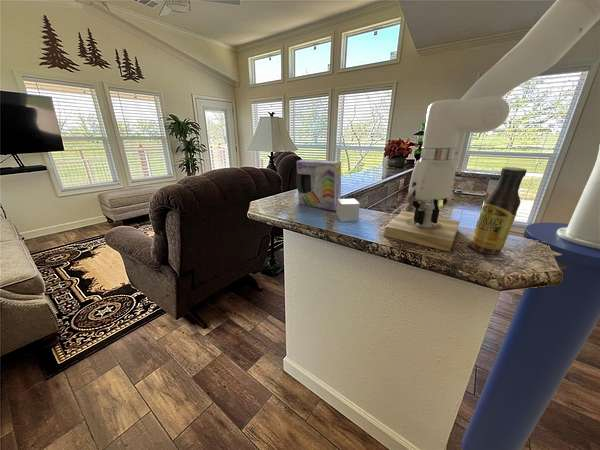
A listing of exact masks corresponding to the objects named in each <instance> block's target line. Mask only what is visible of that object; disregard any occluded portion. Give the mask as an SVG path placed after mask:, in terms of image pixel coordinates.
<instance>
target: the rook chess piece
mask: <svg viewBox="0 0 600 450" xmlns="http://www.w3.org/2000/svg"><path fill="white" fill-rule="evenodd" d="M434 208H435V207H434V204H433V203H432V202H429V203H428V202H427V201H426V202H425V206H424V209H423V211H425V214H424V220H423V224H422V225H420V224H418V223H416V225H418V226H422V227H432V223H431V215H432V213H433V212H432V210H433V209H434Z"/></svg>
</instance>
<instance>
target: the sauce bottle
mask: <svg viewBox="0 0 600 450" xmlns="http://www.w3.org/2000/svg"><path fill="white" fill-rule="evenodd" d="M527 171H528V170H527V169H526V168H523V167H514V166H504V167H502V168H501V171H500V173H499V174H500V176H499V179H498V182H497V183H496V187H495V189H494V190H493V191H492V192H491V193H490V194H489V195H488V196H487V198H486V200H485V201H484V203H483V205H482V207H481V210H480V214H479V216H478V219H477V222H476V226H475V228H474V231H473V234H472V237H471V243H470V247H471V248H472V249H473V250H475V251H476V252H479V253H482V254H485V255H499V254H500V253H501V251H502V249H504V247H505V244H506V241H507V239H508V237H509V234H510V231H511V229H512V227H513V224H514V223H515V222H514V221H515V220H516V217H517V214H518V213H517V212H518V209H519V208H520V206H521V197H520V195H519V190H520V186H521V183H522V181H523V179H524V177H526V175H527Z"/></svg>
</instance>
